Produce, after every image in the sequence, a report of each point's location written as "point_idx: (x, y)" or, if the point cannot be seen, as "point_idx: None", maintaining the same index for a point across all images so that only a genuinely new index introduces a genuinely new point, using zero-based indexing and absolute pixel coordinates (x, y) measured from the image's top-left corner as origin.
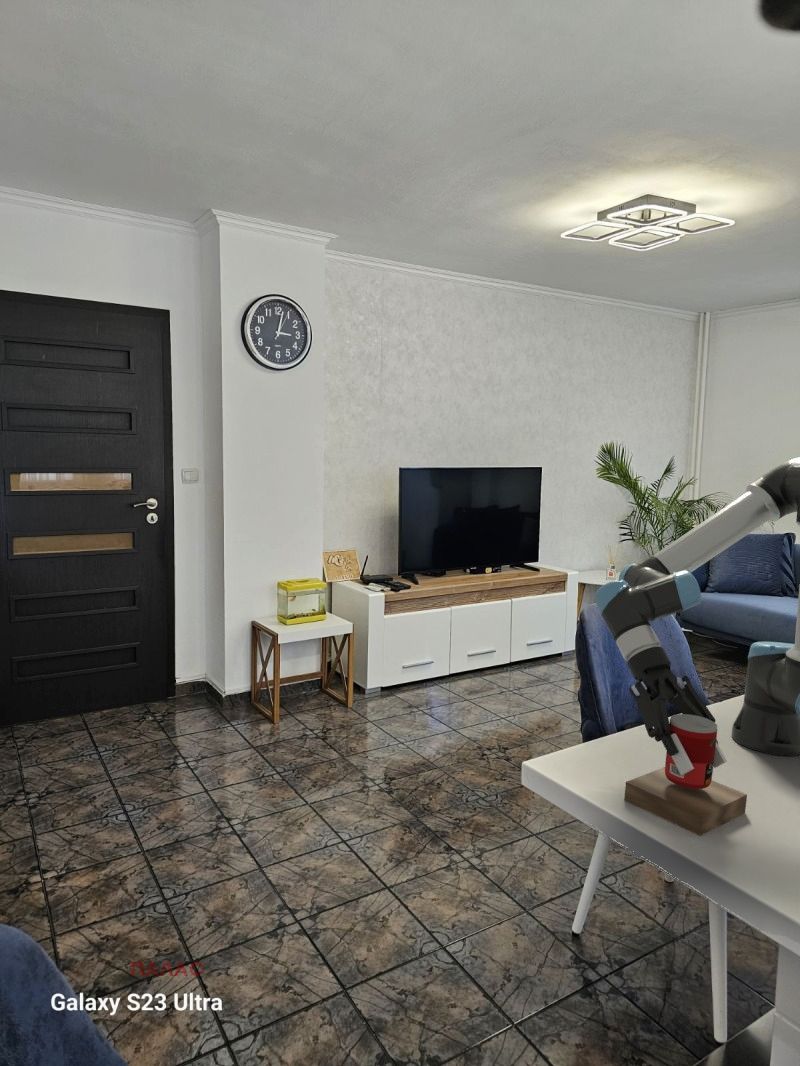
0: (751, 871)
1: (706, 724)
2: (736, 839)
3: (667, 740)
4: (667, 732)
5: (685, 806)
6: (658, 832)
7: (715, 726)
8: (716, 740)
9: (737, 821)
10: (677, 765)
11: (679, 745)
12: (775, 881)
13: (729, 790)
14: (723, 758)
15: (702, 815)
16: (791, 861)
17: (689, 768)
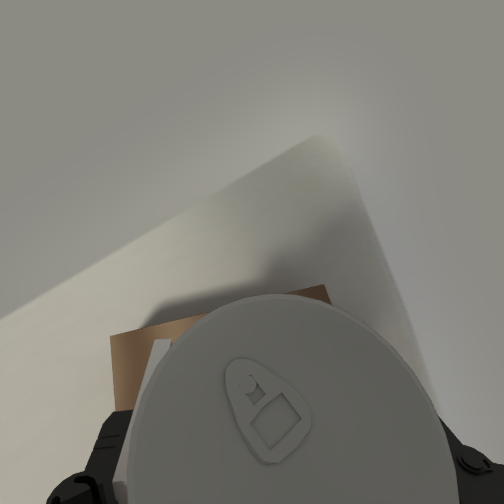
0: (305, 195)
1: (208, 404)
2: (248, 268)
3: (449, 434)
4: (476, 453)
5: None
6: (389, 339)
7: (209, 323)
8: (106, 427)
9: None
10: None
11: None
12: (290, 169)
13: (135, 372)
14: (163, 346)
15: (321, 286)
16: (216, 192)
17: None
